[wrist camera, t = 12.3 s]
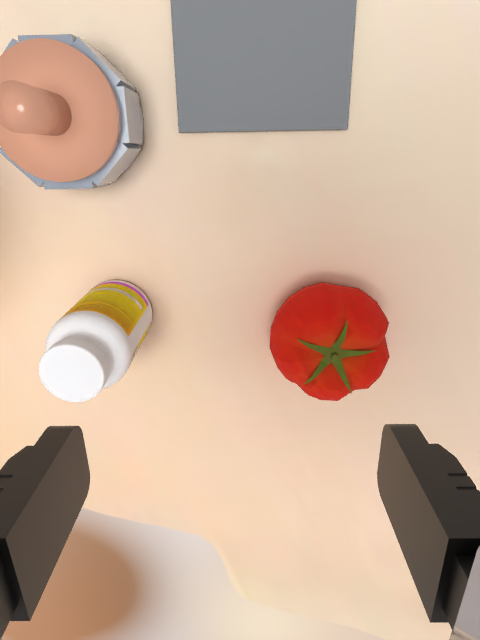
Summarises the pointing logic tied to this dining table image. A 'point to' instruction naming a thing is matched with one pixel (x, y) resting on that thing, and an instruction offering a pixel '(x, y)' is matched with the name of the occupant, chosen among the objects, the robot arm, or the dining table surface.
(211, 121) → the mat
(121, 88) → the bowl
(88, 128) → the lid
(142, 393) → the dining table surface
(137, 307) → the supplement bottle
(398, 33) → the dining table surface
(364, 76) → the dining table surface
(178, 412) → the dining table surface
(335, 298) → the tomato
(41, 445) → the robot arm
